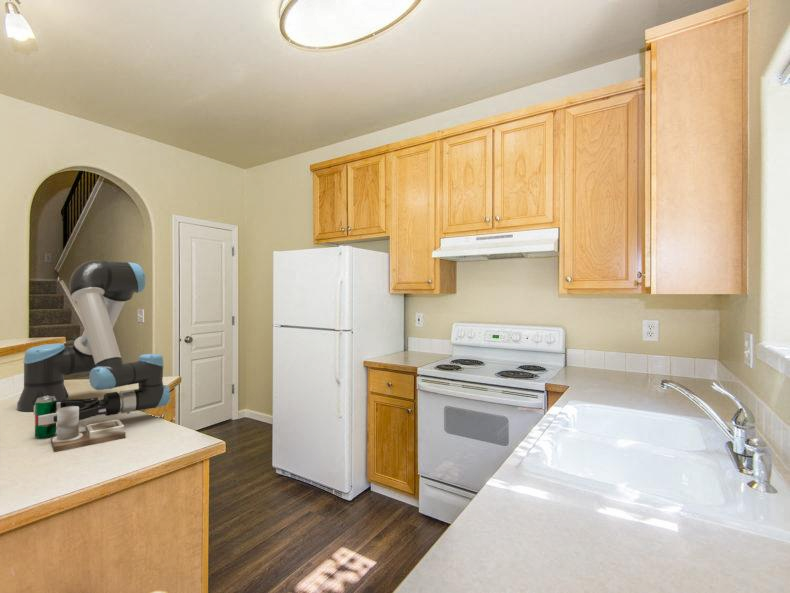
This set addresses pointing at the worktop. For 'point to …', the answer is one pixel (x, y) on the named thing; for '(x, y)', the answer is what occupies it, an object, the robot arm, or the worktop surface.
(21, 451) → the worktop surface
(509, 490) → the worktop surface
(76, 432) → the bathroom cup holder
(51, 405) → the soda can
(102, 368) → the robot arm
